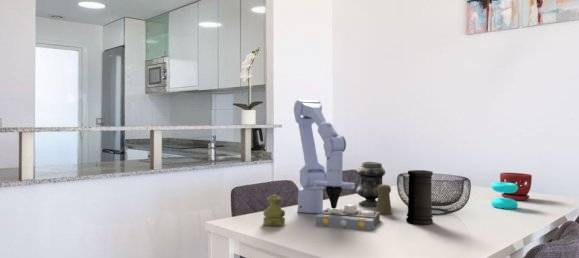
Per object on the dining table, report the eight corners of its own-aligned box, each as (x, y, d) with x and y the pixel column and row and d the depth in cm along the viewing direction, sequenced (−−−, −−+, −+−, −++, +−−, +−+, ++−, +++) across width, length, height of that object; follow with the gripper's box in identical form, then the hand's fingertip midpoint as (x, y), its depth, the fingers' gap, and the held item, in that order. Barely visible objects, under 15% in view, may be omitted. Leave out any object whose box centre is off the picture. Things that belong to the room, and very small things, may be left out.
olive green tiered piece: (268, 227, 147) (269, 197, 147) (259, 223, 154) (259, 194, 154) (288, 225, 151) (289, 195, 151) (279, 221, 157) (279, 192, 157)
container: (433, 220, 160) (433, 170, 160) (432, 226, 151) (433, 173, 151) (407, 218, 163) (407, 169, 163) (405, 224, 154) (405, 171, 154)
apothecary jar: (391, 205, 189) (391, 162, 189) (370, 208, 183) (370, 163, 182) (370, 200, 199) (371, 160, 199) (350, 203, 193) (350, 161, 192)
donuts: (504, 185, 180) (486, 182, 190) (503, 210, 181) (485, 205, 190) (523, 184, 184) (504, 181, 193) (523, 209, 184) (504, 204, 193)
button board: (320, 221, 157) (320, 213, 157) (328, 216, 166) (328, 207, 166) (375, 226, 150) (375, 217, 150) (379, 220, 160) (379, 211, 160)
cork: (391, 215, 169) (392, 186, 169) (375, 214, 170) (375, 185, 170) (391, 212, 175) (391, 184, 174) (375, 211, 176) (376, 183, 176)
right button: (359, 222, 155) (360, 212, 155) (362, 220, 159) (362, 210, 159) (372, 223, 154) (372, 213, 154) (374, 221, 158) (374, 211, 158)
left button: (326, 219, 159) (326, 209, 159) (329, 217, 163) (329, 207, 163) (338, 220, 158) (338, 210, 158) (341, 218, 162) (341, 208, 162)
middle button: (342, 216, 157) (343, 206, 157) (345, 213, 161) (345, 203, 161) (355, 217, 156) (355, 206, 156) (357, 214, 160) (358, 204, 160)
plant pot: (537, 201, 201) (537, 175, 201) (507, 201, 201) (508, 174, 201) (522, 196, 214) (522, 171, 214) (494, 196, 214) (495, 171, 214)
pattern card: (315, 225, 151) (315, 216, 151) (318, 222, 155) (319, 213, 155) (371, 230, 145) (372, 220, 145) (374, 227, 149) (374, 218, 149)
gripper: (311, 170, 159) (311, 208, 159) (352, 172, 154) (351, 211, 154) (317, 168, 166) (316, 204, 166) (356, 170, 161) (355, 207, 161)
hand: (333, 207), depth 161 cm, fingers closed
